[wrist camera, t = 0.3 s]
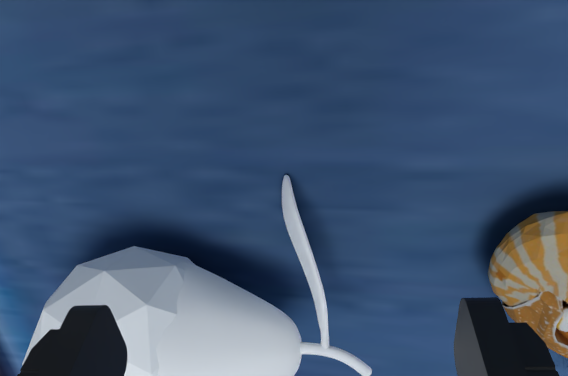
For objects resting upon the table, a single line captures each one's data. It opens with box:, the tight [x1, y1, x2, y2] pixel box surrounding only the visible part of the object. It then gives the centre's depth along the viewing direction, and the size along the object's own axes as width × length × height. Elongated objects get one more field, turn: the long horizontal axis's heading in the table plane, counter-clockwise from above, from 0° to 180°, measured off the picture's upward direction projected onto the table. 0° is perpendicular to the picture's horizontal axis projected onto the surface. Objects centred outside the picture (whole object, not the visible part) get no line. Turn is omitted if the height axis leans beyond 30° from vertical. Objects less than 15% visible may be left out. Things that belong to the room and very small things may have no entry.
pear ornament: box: [22, 175, 372, 376], centre depth 43 cm, size 16×22×28 cm
